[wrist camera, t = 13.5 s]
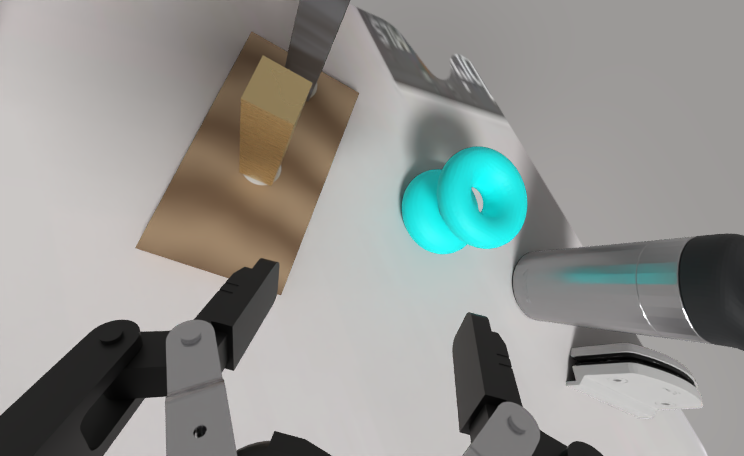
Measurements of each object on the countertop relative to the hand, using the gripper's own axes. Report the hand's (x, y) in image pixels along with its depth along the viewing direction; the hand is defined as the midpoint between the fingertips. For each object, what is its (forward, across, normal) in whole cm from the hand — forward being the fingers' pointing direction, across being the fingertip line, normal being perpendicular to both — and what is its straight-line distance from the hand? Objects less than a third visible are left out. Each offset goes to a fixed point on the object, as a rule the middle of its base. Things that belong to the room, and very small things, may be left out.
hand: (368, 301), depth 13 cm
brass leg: (+17, +12, +3) cm, 21 cm away
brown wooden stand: (+18, +13, +4) cm, 23 cm away
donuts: (+25, -6, +7) cm, 27 cm away
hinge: (+25, -37, +25) cm, 51 cm away
